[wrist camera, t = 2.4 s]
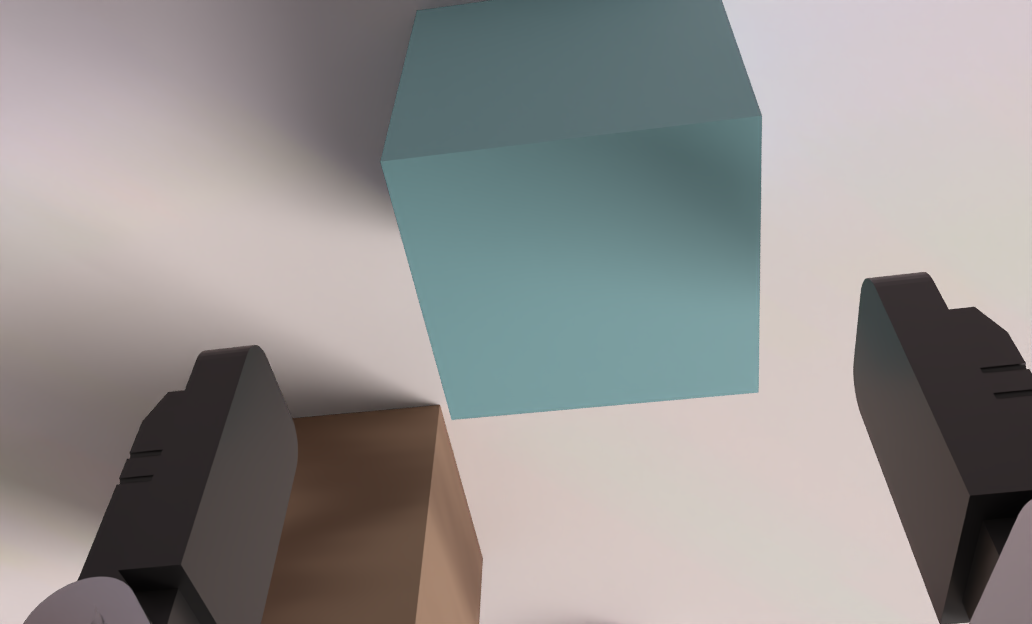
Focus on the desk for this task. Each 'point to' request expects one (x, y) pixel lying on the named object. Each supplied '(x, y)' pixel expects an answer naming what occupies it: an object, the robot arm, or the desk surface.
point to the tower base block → (376, 525)
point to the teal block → (580, 202)
